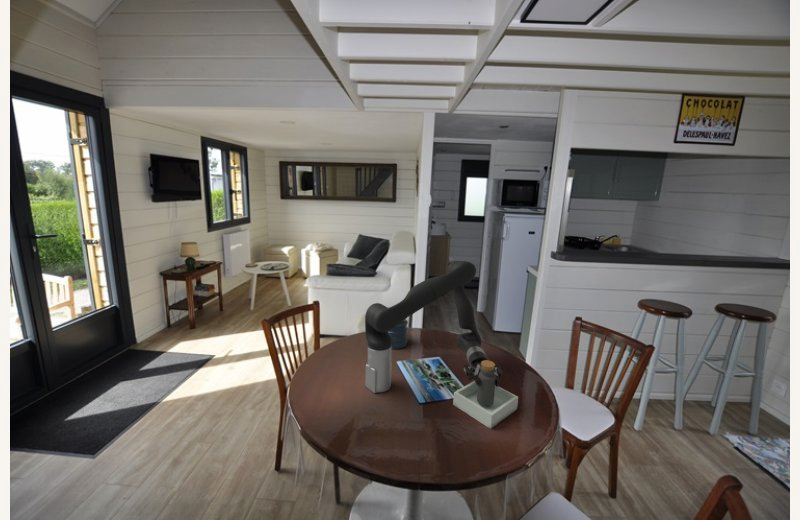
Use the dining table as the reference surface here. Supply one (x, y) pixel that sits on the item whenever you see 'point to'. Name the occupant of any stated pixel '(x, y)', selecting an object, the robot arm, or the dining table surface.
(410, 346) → the dining table surface
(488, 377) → the bottle
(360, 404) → the dining table surface
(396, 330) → the canister
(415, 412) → the dining table surface
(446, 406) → the dining table surface
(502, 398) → the bin
